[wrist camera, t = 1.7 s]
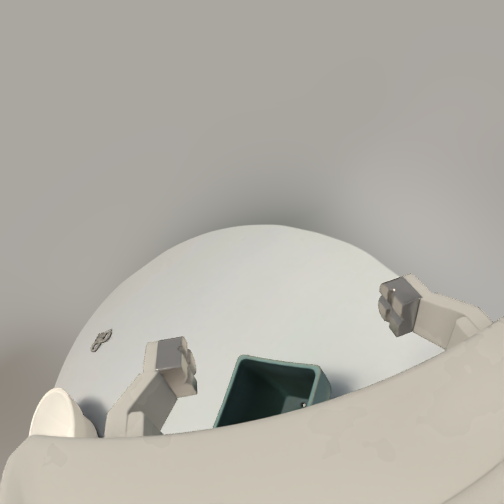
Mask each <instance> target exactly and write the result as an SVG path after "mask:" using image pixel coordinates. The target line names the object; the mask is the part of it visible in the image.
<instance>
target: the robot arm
mask: <svg viewBox="0 0 504 504" xmlns="http://www.w3.org/2000/svg"><path fill="white" fill-rule="evenodd" d="M379 292H380V293H381V294H382V296H381V297H380V299H379V301H378V308H379V312H380V314H381V317H382V318H383V319H384V321H387V322H389V323H390V325H389V328H390V329H391V330H392V332H393V333H394V335H395V336H396V337H399V336H402V335H404V334H407V333H410V332H412V331H413V332H414V333H416V334H417V335H419V336H421V337H423V338H425V339H427V340H429V341H431V342H432V343H434V344H436V345H438V346H440V347H442V348H444V349H445V351H444V352H442V353H440V354H438V355H436V356H435V357H433V358H431V359H429V360H426V361H424V362H422V363H420V364H418V365H416V366H414V367H412V368H410V369H407V370H405V371H403V372H401V373H399V374H396V375H394V376H392V377H389V378H387V379H385V380H382V381H380V382H377V383H375V384H372V385H370V386H367V387H365V388H362V389H359V390H357V391H354V392H351V393H348V394H345V395H343V396H340V397H337V398H334V399H331V400H328V401H325V402H321V403H318V404H315V405H312V406H308V407H305V408H301V409H298V410H294V411H291V412H287V413H283V414H279V415H275V416H271V417H267V418H263V419H258V420H254V421H249V422H245V423H240V424H234V425H229V426H224V427H218V428H212V429H206V430H199V431H192V432H184V433H175V434H166V435H163V434H162V433H161V432H160V430H161V428H162V426H163V425H164V423H165V421H166V419H167V417H168V416H169V414H170V412H171V410H172V408H173V406H174V405H175V403H176V401H177V398H180V397H186V396H191V395H196V394H197V381H196V379H195V377H194V375H195V373H196V365H195V360H194V357H193V354H192V352H191V350H189V349H187V342H186V340H185V338H184V337H183V336H182V337H176V338H171V339H165V340H159V341H154V342H148V343H147V345H146V350H145V358H144V366H143V373H141V374H139V375H138V376H137V377H136V379H135V380H134V381H133V382H132V383H131V385H130V386H129V387H128V388H127V389H126V391H125V392H124V393H123V394H122V396H121V397H120V398H119V399H118V400H117V402H116V403H115V404H114V405H113V407H112V408H111V409H110V410H109V411H108V413H107V418H106V425H105V432H104V438H80V437H59V436H47V435H31V436H29V437H28V438H27V439H26V440H25V441H24V442H23V443H22V444H21V445H20V446H19V447H18V448H17V449H16V450H15V451H14V452H13V453H12V454H11V455H10V457H9V459H8V460H7V463H6V465H5V468H4V471H3V476H2V480H1V484H0V504H504V316H503V317H502V318H500V319H499V320H497V321H496V322H493V321H491V319H490V318H489V317H488V316H487V315H486V314H485V313H484V312H483V311H482V310H481V309H480V308H479V307H476V306H474V305H471V304H467V303H465V302H462V301H459V300H456V299H453V298H450V297H447V296H444V295H440V294H438V293H433V294H432V293H431V292H430V291H429V290H428V289H427V288H426V287H425V286H424V285H423V284H422V283H421V282H420V281H419V280H418V279H417V278H416V277H415V276H414V275H413V274H411V273H410V274H407V275H405V276H402V277H399V278H396V279H394V280H391V281H388V282H385V283H382V284H381V286H380V291H379Z"/></svg>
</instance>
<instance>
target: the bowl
mask: <svg viewBox="0 0 504 504" xmlns="http://www.w3.org/2000/svg"><path fill="white" fill-rule="evenodd" d="M31 435H47V436H59V437H80V438H98V435H97V432H96V429H95V427H94V425H93V423H92V422H91V421H90V420H89V419H88V418H86V417H85V416H84V415H83V414H82V411H81V409H80V407H79V406H78V404H77V403H76V402H75V401H74V400H73V399H72V398H71V397H70V395H69V394H68V393H67V392H66V391H65V390H64V389H61V388H53V389H52V390H50V391H48V393H46V394H45V395H44V397H43V398H42V399H41V401H40V403H39V404H38V406H37V408H36V410H35V413H34V416H33V419H32V422H31V427H30V432H29V436H31Z"/></svg>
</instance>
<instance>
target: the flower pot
mask: <svg viewBox="0 0 504 504" xmlns="http://www.w3.org/2000/svg"><path fill="white" fill-rule="evenodd" d="M330 394H331V386H330V383H329V381H328V379H327V377H326V376H325V374H324V372H323V371H322V369H321V368H320V366H318V365H312V364H301V363H293V362H284V361H278V360H272V359H265V358H259V357H254V356H249V355H241V356H239V358H238V360H237V362H236V365H235V368H234V371H233V374H232V377H231V380H230V383H229V386H228V388H227V391H226V394H225V397H224V400H223V403H222V405H221V408H220V410H219V413H218V416H217V418H216V421H215V423H214V426H213V428H218V427H224V426H229V425H234V424H240V423H245V422H249V421H254V420H258V419H263V418H267V417H271V416H275V415H279V414H283V413H287V412H291V411H294V410H298V409H301V408H305V407H308V406H312V405H315V404H318V403H321V402H325V401H328V400H329V398H330ZM303 403H306V406H305V407H302V404H303Z"/></svg>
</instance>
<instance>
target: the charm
mask: <svg viewBox="0 0 504 504" xmlns="http://www.w3.org/2000/svg"><path fill="white" fill-rule="evenodd" d="M107 333H108V336H107V337H106V338H105V339H103V338H104V336H105V335H106V334H107ZM110 335H111V329H110V331H109V330H108V331H106V332H105V333H104V332H103V333H101V334H100V333H99V334H98V337H97V338H96V340H95V342H94V343H93V344H92V346H91V351H92V352H94V351H96V350H97V348H98V347H99V345H100V344H101V343H102V342H105V341H106V340H108V338H109V337H110ZM97 343H98V344H97ZM95 344H97V346H96V347H95V348H94V349H93V347H94V345H95Z"/></svg>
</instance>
